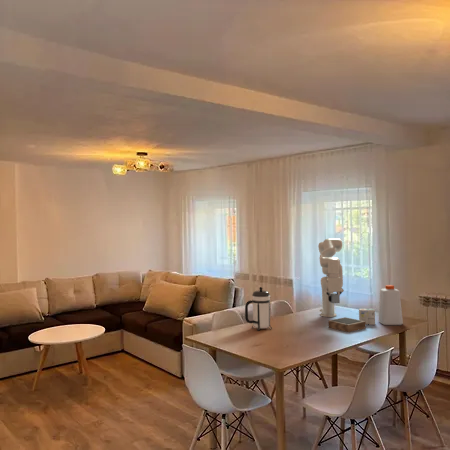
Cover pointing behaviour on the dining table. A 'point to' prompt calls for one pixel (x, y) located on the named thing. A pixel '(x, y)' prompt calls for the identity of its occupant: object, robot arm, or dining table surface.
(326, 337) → the dining table surface
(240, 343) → the dining table surface
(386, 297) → the plastic bottle
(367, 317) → the light bulb box
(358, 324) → the walnut stand
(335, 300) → the block
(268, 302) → the coffee press
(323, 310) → the robot arm
